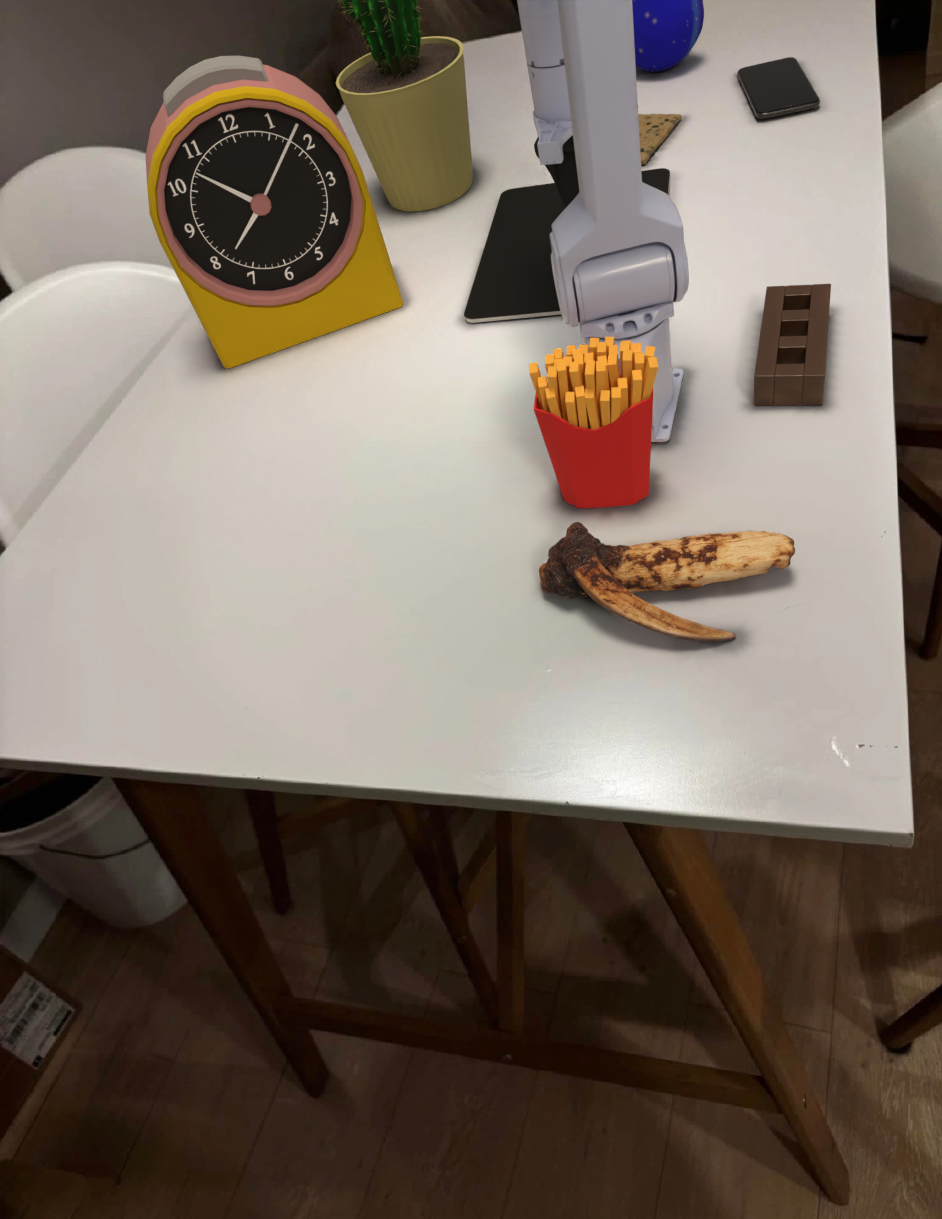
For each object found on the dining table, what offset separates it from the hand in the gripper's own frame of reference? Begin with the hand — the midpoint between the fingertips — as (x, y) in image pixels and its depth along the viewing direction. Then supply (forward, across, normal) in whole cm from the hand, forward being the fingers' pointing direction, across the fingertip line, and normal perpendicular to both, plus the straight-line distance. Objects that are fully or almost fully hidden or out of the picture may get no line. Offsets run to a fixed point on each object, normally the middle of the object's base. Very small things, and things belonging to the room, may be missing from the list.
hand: (577, 201), depth 90 cm
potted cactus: (+7, +20, +24) cm, 32 cm away
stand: (+7, -17, -22) cm, 28 cm away
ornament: (+7, +49, -1) cm, 50 cm away
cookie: (+7, +28, +1) cm, 29 cm away
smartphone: (+7, +37, -17) cm, 41 cm away
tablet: (+7, +4, +2) cm, 8 cm away
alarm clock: (+7, -8, +30) cm, 32 cm away
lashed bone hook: (+7, -45, -15) cm, 48 cm away
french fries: (+7, -34, -9) cm, 36 cm away
